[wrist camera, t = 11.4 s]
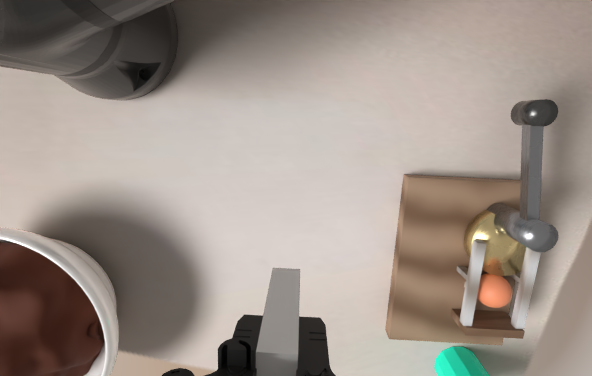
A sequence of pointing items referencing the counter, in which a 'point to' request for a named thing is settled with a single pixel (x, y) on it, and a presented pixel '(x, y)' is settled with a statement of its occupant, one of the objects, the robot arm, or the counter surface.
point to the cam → (525, 223)
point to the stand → (451, 264)
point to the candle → (458, 363)
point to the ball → (494, 291)
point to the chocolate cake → (54, 309)
